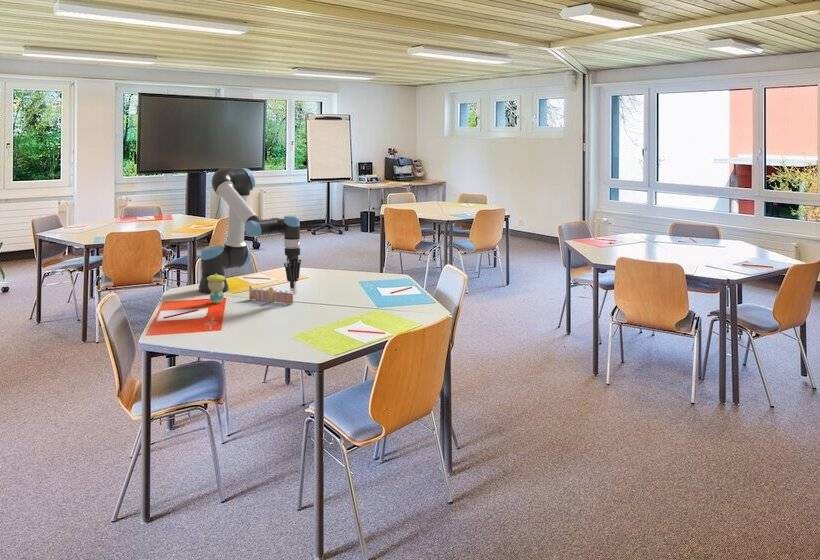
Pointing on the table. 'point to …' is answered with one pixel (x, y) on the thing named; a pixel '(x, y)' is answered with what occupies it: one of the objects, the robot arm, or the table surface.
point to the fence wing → (283, 297)
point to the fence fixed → (261, 294)
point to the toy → (216, 287)
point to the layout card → (266, 304)
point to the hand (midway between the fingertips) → (293, 294)
